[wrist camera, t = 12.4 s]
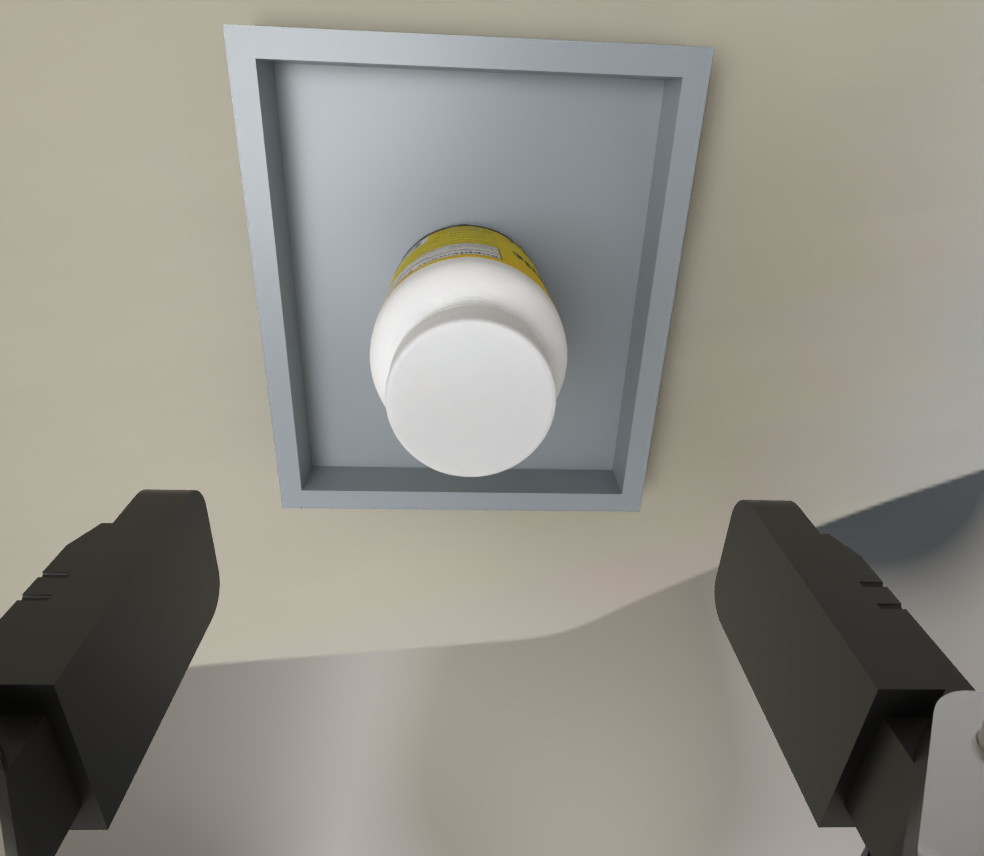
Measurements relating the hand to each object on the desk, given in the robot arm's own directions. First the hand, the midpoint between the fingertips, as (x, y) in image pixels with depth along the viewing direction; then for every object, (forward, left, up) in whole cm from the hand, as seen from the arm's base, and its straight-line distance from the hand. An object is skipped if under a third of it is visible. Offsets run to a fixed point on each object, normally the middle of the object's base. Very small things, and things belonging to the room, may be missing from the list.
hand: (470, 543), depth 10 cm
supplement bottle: (0, 0, -15) cm, 15 cm away
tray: (0, 0, -16) cm, 16 cm away
